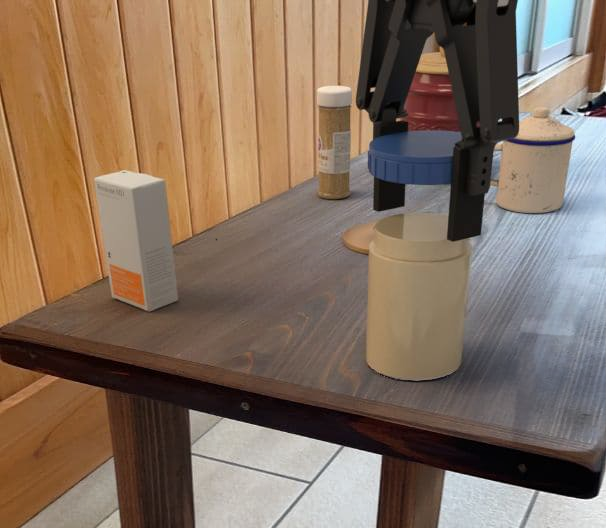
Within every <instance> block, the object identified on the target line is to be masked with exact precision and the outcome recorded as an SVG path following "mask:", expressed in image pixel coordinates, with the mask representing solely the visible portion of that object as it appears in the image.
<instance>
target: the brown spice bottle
mask: <svg viewBox="0 0 606 528" xmlns="http://www.w3.org/2000/svg"><path fill="white" fill-rule="evenodd" d="M352 103H353V89H352V88H351V87H349V86H347V85H346V86H345V85H325V86H321V87H319V88H317V92H316V104H317V108H318V134H317V135H318V139H317V141H318V146H317V147H318V153H317V154H318V160H317V163H318V165H317V167H318V169H317V170H318V190H317V195H318V197H320V198H322V199H325V200H339V199H344V198H348V197H349V196H350V194H351V190H350V171H351V146H352V145H351V142H352V141H351V135H352V131H351V108H352Z"/></svg>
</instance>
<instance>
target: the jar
mask: <svg viewBox="0 0 606 528" xmlns="http://www.w3.org/2000/svg"><path fill="white" fill-rule="evenodd" d="M448 216H449V214H448V215H447V214H443V213H442V214H441V213H434V212H433V213H431V212H408V213H407V212H406V213H398V214H392V215H389V216H385V217H383V218H381V219H379V220H378V222H377V221H375V222H376V223H375V224H374V226H373V229H374V240H373V241H372V242H371V243H370V245H369V255H368V261H367V262H368V263H367V264H368V266H367V299H366V300H367V302H366V331H365V332H366V333H365V334H366V336H365V337H366V338H365V339H366V340H365V363H366V362H367V363H368V365H369V366H370V367H371V368H372V369H374V370H376V371H377V372H379V373H382V374H385V375H388V376H392V377H397V378H405V379H422V378H423V379H424V378H431V377H438V376H442V375H446V374H449V373H451V372H453V371H455V370H456V369H457V368H459V366H460V365H461V366H462V362H463V353H464V342H465V330H466V323H467V322H466V321H467V312H468V301H469V292H470V282H471V281H470V280H471V272H472V263H473V251H474V247H473V245H472V243H471V242H469V241H470V240H471V238H467V239H463V240H459V241H455V242H452V241H450V240H447V230H448ZM367 363H366V364H367ZM368 365H367V366H368ZM461 366H460V367H461ZM459 369H460V368H459Z"/></svg>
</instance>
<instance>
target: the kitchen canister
mask: <svg viewBox="0 0 606 528" xmlns="http://www.w3.org/2000/svg"><path fill="white" fill-rule="evenodd" d="M404 109H405V110H406V111H407V112H406V113H408V116H407V117H404V118H399V121H402V120H403V121H407V122H408V131H423V130H439V131H454V132H461V131H460V126H459V121H458V117H457V112H456V107H455V102H454V97H453V92H452V87H451V82H450V78H449V73H448V68H447V63H446V58H445V53H444V50H443V48H442V47H440V46H439V51H438V52H437V51H436V52H435V51H434V52H426V53H422V54H421V57H420V60H419V63H418V66H417V69H416V72H415V75H414V78H413V81H412V84H411V87H410V90H409V93H408V96H407V99H406V102H405V105H404ZM477 127H480V121H478V122H477Z"/></svg>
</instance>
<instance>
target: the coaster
mask: <svg viewBox="0 0 606 528" xmlns="http://www.w3.org/2000/svg"><path fill="white" fill-rule="evenodd" d="M378 221H379V220H378ZM378 221H369V222H365V223H359V224H357V225H354V226H351V227H349V228H348V229H346V230H345V231H344V232H343V234H342V243H343V245H344V246H345V247H347V248H348V249H349V250H351V251H354V252H357V253H360V254H365V255H367V256H369V245H370V243H371V242H372V241H373V240H374V229H373V226H374V224H375V223H376V222H378Z"/></svg>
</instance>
